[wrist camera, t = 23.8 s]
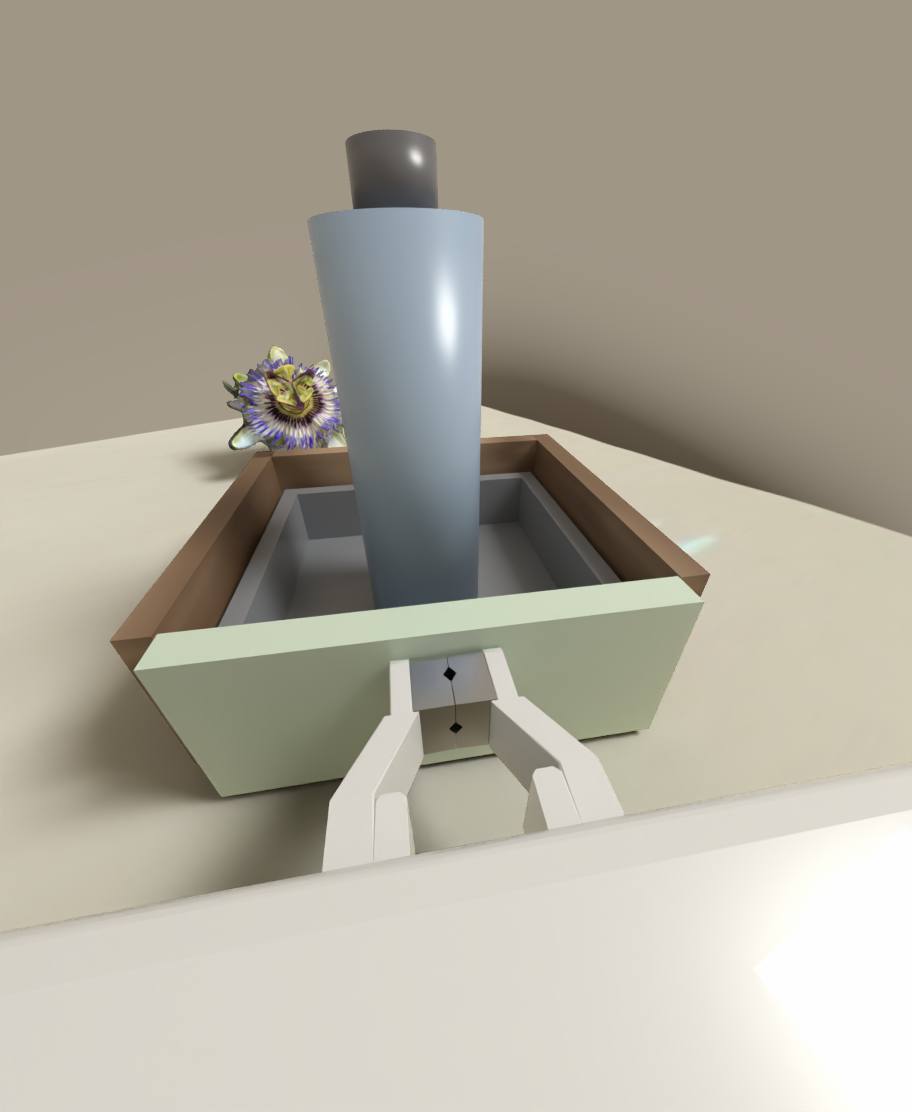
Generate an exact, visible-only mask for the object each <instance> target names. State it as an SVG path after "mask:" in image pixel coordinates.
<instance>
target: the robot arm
mask: <svg viewBox="0 0 912 1112" xmlns="http://www.w3.org/2000/svg"><path fill="white" fill-rule="evenodd" d="M409 663H410V664H409ZM389 687H390V715H388V716H384V717H383V719H382V721H381V722H380V724H379V725H378V727H377V728H376V730H375V731H374V733H373V735H372V736H371V738H370V739H369V741H368V742H367V744H366V745H365V747H364V749H363V750H362V752H361V753H360V755H359V756H358V758H357V759H356V761H355V763H354V764H353V766H352V767H351V769H350V770H349V772H348V773H347V775H346V777H345V778H344V780H343V781H342V783H341V784H340V786H339V787H338V789H337V791H336V792H335V794H334V795H333V797H332V798H331V800H330V802H329V811H328V821H327V830H326V839H325V848H324V857H323V867H322V872H319V873H314V874H308V875H303V876H298V877H292V878H287V879H282V880H276V881H271V882H266V883H260V884H255V885H250V886H244V887H239V888H234V889H228V890H223V891H218V892H212V893H207V894H202V895H196V896H191V897H186V898H180V899H175V900H170V901H164V902H159V903H154V904H148V905H143V906H138V907H132V908H127V909H122V910H116V911H111V912H106V913H100V914H95V915H89V916H84V917H79V918H73V919H68V920H63V921H57V922H52V923H47V924H41V925H36V926H31V927H25V928H20V929H15V930H9V931H4V932H0V1112H912V762H907V763H902V764H897V765H891V766H886V767H881V768H875V769H870V770H864V771H859V772H854V773H848V774H843V775H838V776H832V777H827V778H822V779H816V780H811V781H806V782H800V783H795V784H790V785H784V786H779V787H774V788H768V789H763V790H758V791H752V792H747V793H742V794H736V795H731V796H726V797H720V798H715V799H709V800H704V801H699V802H693V803H688V804H683V805H677V806H672V807H667V808H661V809H656V810H651V811H645V812H640V813H635V814H629V815H625V814H624V812H623V809H622V807H621V805H620V803H619V801H618V799H617V797H616V794H615V792H614V790H613V788H612V786H611V784H610V781H609V779H608V777H607V775H606V773H605V771H604V769H603V766H602V764H601V762H600V760H599V758H598V757H597V756H596V755H595V754H594V753H592V752H591V751H590V750H589V749H588V748H586V747H585V746H584V745H583V744H581V743H580V742H579V741H578V740H577V739H575V738H574V737H573V736H572V735H570V734H569V733H568V732H567V731H566V730H564V729H563V728H562V727H561V726H560V725H558V724H557V723H556V722H555V721H553V720H552V719H551V718H550V717H549V716H547V715H546V714H545V713H544V712H542V711H541V710H540V709H539V708H538V707H536V706H535V705H534V704H533V703H532V702H530V701H529V700H528V699H527V698H525V697H524V696H522V697H518V694H517V691H516V688H515V685H514V682H513V679H512V677H511V674H510V671H509V668H508V665H507V662H506V659H505V656H504V653H503V650H502V649H501V648H500V647H499V648H491V649H484V650H475V651H468V652H460V653H453V654H446V655H442V656H432V657H422V658H412V659H405V660H395V661H390V664H389ZM488 744H489V747H490V748H491V749H492V751H493V752H494V753H495V754H496V755H497V756H498V757H499V759H500V760H501V761H502V762H503V763H504V764H505V766H506V767H507V768H508V769H509V770H510V771H511V773H512V774H513V775H514V776H515V777H516V778H517V779H518V781H519V782H520V783H521V784H522V785H523V786H524V788H525V789H526V790H527V791H528V792H529V797H528V802H527V807H526V812H525V818H524V823H523V828H524V832H525V834H522V835H517V836H511V837H506V838H501V839H495V840H490V841H485V842H479V843H474V844H469V845H463V846H458V847H453V848H447V849H442V850H436V851H431V852H426V853H420V854H415V845H414V839H413V833H412V827H411V820H410V814H409V808H408V801H407V794H408V792H409V790H410V787H411V785H412V783H413V781H414V778H415V776H416V774H417V771H418V769H419V767H420V765H421V762H422V760H423V758H424V755H425V754H430V753H435V752H441V751H446V750H451V749H456V747H457V748H465V747H473V746H481V745H488Z"/></svg>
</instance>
